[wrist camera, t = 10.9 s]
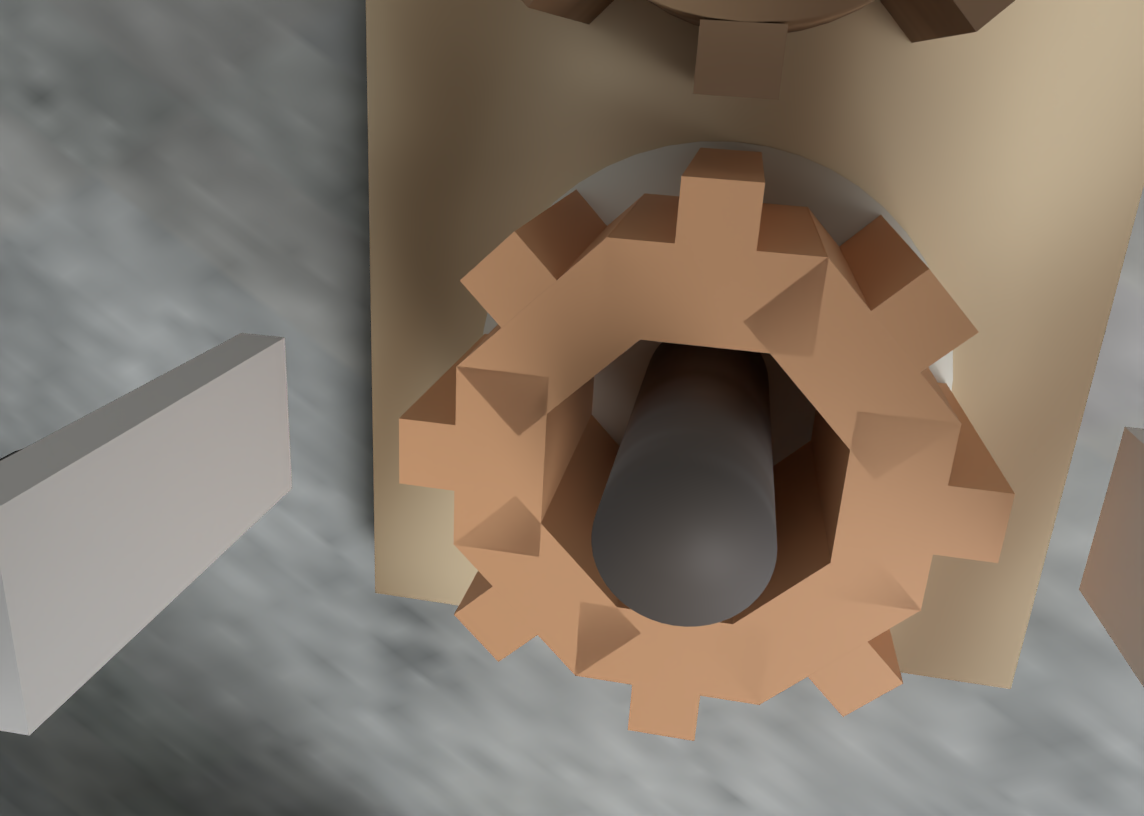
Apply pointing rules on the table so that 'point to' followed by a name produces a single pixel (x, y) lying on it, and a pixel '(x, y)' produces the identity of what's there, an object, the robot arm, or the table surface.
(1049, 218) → the gear board
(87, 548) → the robot arm
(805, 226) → the loose gear
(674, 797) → the table surface
